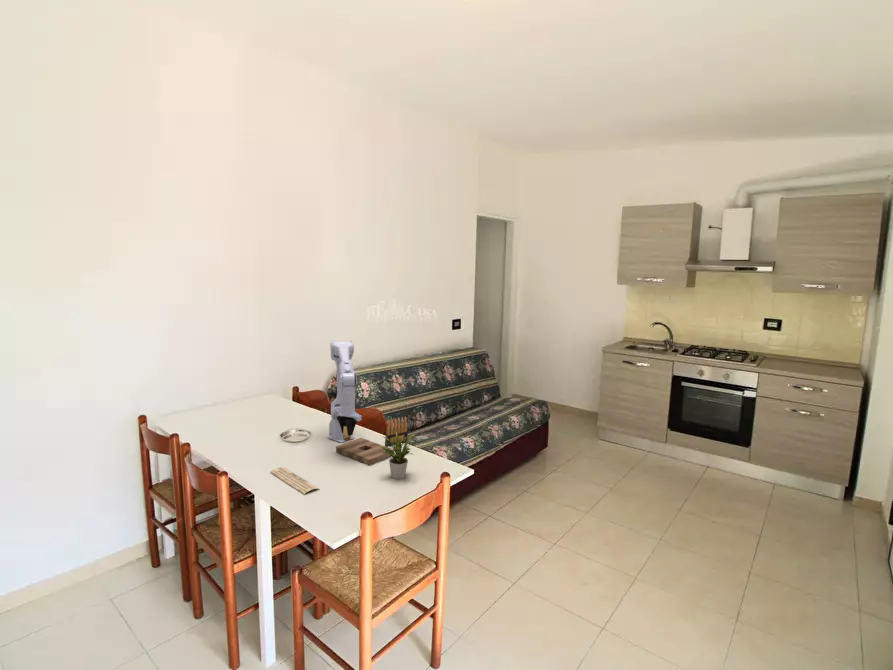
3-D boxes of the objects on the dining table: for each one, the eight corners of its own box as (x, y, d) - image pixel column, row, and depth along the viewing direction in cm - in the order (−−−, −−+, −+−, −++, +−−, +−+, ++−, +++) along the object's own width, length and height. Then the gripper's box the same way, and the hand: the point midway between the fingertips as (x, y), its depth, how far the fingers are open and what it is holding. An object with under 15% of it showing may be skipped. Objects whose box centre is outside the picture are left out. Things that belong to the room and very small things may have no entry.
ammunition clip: (405, 441, 220) (406, 415, 218) (407, 442, 219) (408, 416, 217) (384, 445, 214) (385, 419, 212) (386, 447, 212) (387, 420, 211)
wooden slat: (270, 474, 183) (270, 470, 182) (287, 469, 188) (287, 464, 188) (304, 497, 167) (304, 492, 167) (322, 490, 172) (322, 485, 172)
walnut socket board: (336, 452, 204) (336, 446, 204) (360, 443, 215) (360, 437, 215) (369, 465, 193) (369, 459, 192) (394, 455, 204) (394, 449, 203)
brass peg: (341, 439, 200) (341, 425, 199) (347, 437, 202) (347, 423, 201) (346, 441, 198) (346, 427, 197) (352, 439, 200) (352, 425, 199)
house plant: (399, 463, 196) (400, 424, 193) (425, 474, 187) (426, 433, 185) (372, 474, 185) (373, 433, 182) (398, 486, 176) (400, 443, 174)
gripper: (328, 399, 199) (328, 431, 201) (352, 407, 190) (351, 440, 192) (341, 396, 205) (341, 427, 207) (365, 403, 196) (365, 436, 198)
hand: (347, 433), depth 200 cm, fingers closed on brass peg, 3 cm apart
